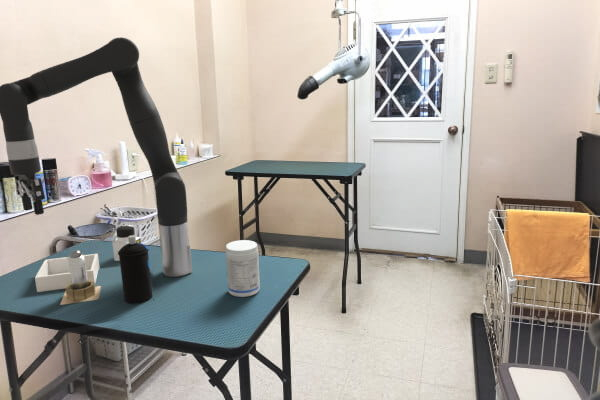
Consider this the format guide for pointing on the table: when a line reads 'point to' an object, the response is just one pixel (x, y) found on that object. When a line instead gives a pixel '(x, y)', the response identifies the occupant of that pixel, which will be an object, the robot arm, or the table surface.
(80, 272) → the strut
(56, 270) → the bin
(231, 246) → the supplement tub
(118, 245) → the medicine bottle
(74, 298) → the socket base
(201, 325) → the table surface
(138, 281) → the aerosol can
